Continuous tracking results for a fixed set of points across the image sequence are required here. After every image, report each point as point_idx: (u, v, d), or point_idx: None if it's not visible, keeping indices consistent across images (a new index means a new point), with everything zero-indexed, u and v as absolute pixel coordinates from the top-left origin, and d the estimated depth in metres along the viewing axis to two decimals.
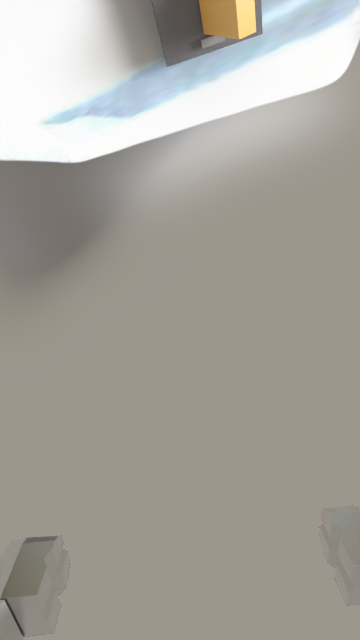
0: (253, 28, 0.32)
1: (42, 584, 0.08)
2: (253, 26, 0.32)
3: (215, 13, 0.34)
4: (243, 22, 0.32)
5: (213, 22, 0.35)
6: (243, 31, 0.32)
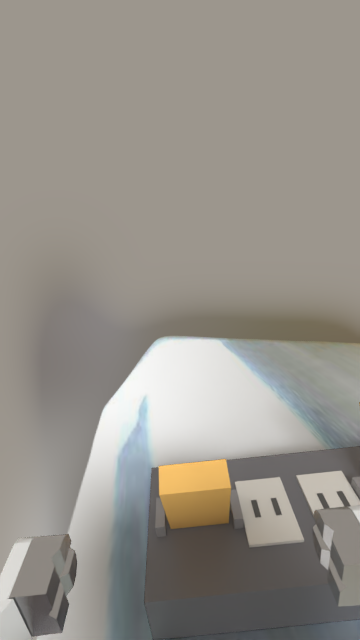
0: (164, 489, 0.22)
1: (50, 583, 0.08)
2: (166, 490, 0.22)
3: None
4: (174, 473, 0.23)
5: None
6: (165, 473, 0.23)
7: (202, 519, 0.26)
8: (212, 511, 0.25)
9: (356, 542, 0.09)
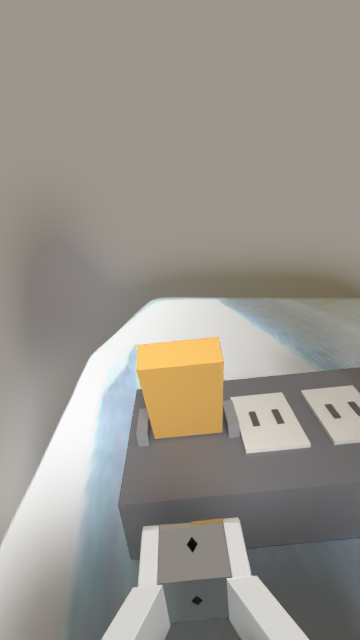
0: (142, 365, 0.19)
1: (193, 569, 0.08)
2: (145, 366, 0.19)
3: None
4: (156, 350, 0.19)
5: None
6: (145, 351, 0.19)
7: (191, 422, 0.23)
8: (202, 408, 0.21)
9: (214, 556, 0.09)
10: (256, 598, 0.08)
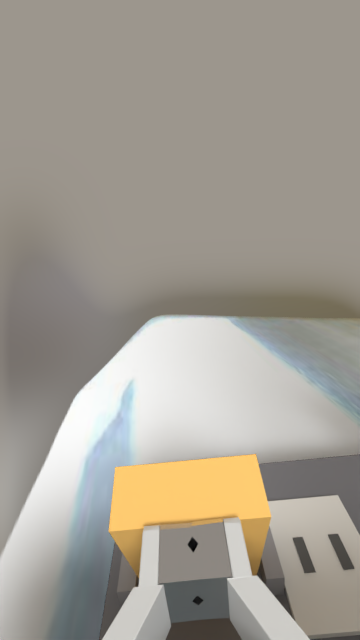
0: (120, 519, 0.10)
1: (194, 569, 0.08)
2: (124, 521, 0.10)
3: None
4: (146, 482, 0.11)
5: None
6: (127, 482, 0.11)
7: None
8: None
9: (215, 556, 0.09)
10: (256, 598, 0.08)
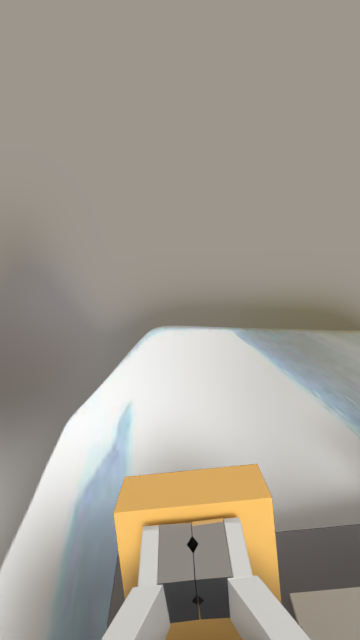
0: (126, 505, 0.10)
1: (193, 569, 0.08)
2: (130, 505, 0.10)
3: None
4: (153, 484, 0.11)
5: None
6: (135, 484, 0.12)
7: None
8: None
9: (215, 555, 0.09)
10: (257, 598, 0.08)
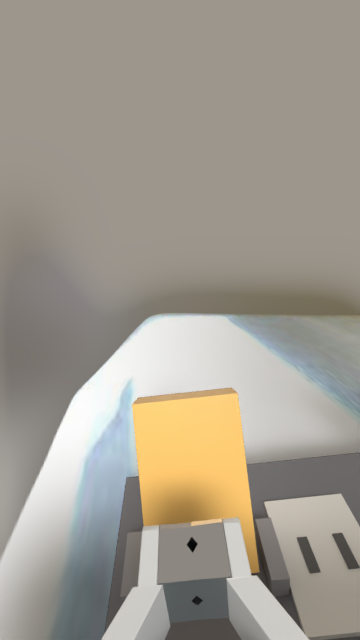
0: (140, 402, 0.15)
1: (193, 569, 0.08)
2: (143, 402, 0.15)
3: None
4: (158, 397, 0.16)
5: None
6: (145, 398, 0.17)
7: None
8: (221, 497, 0.15)
9: (214, 556, 0.09)
10: (256, 599, 0.08)
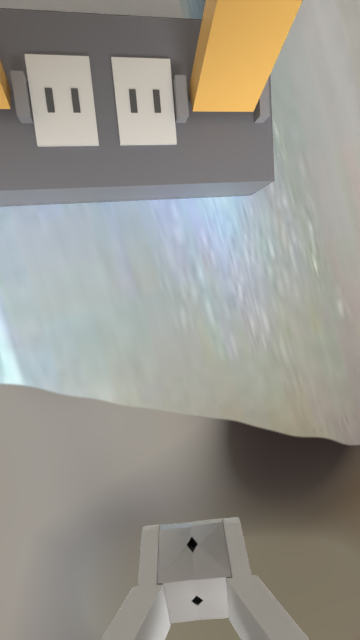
0: None
1: (194, 570, 0.08)
2: None
3: None
4: None
5: None
6: None
7: None
8: None
9: (214, 556, 0.09)
10: (256, 598, 0.08)
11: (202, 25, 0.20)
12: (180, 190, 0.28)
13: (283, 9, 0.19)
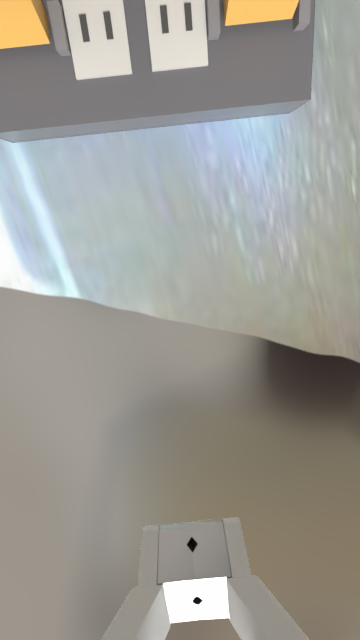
0: None
1: (193, 569, 0.08)
2: None
3: None
4: None
5: None
6: None
7: (7, 22, 0.22)
8: None
9: (214, 555, 0.09)
10: (256, 598, 0.08)
11: None
12: (212, 114, 0.28)
13: None
